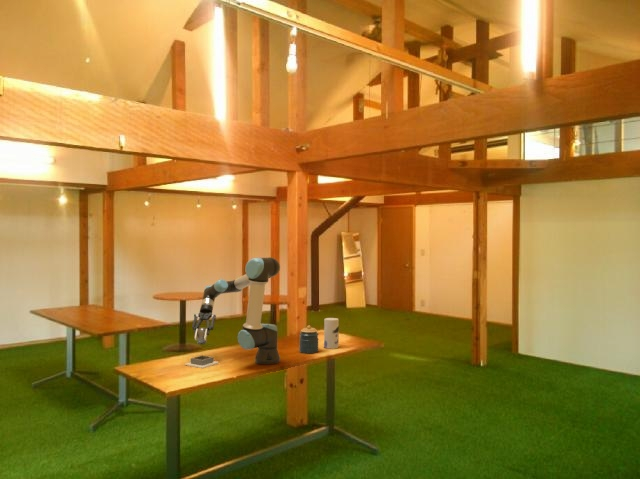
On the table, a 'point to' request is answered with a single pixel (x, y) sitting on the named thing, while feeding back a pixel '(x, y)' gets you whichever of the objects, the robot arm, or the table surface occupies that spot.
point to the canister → (308, 340)
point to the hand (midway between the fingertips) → (200, 339)
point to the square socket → (202, 362)
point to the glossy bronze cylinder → (201, 336)
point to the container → (331, 333)
